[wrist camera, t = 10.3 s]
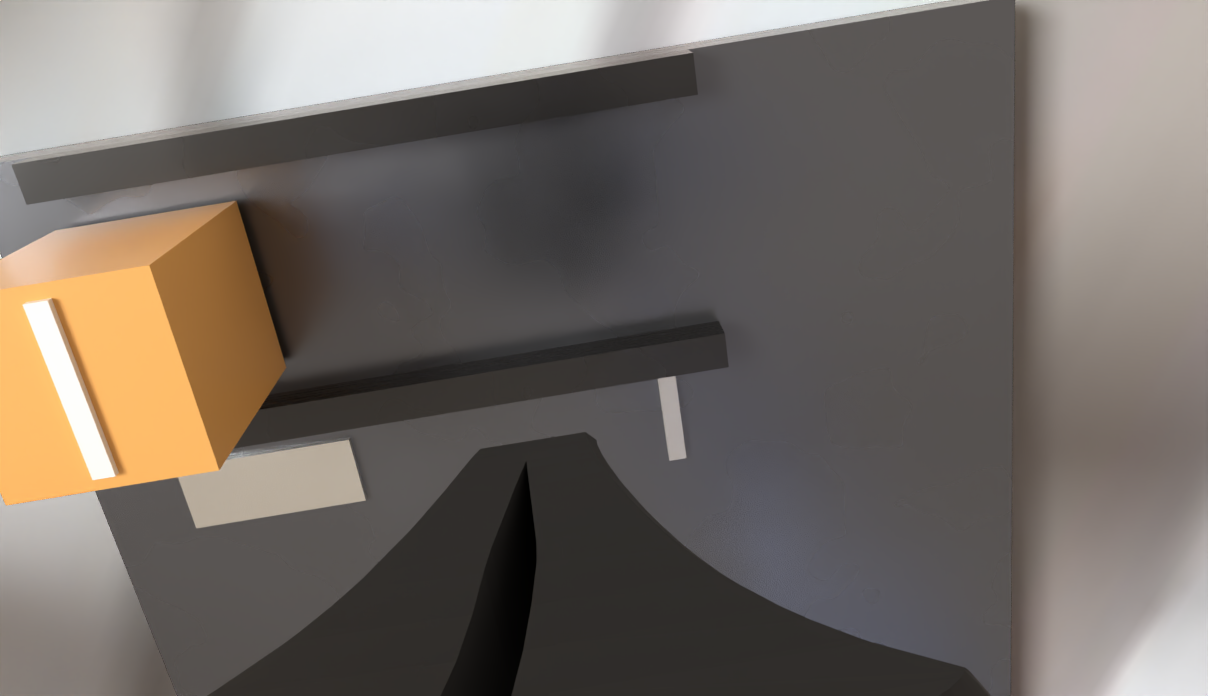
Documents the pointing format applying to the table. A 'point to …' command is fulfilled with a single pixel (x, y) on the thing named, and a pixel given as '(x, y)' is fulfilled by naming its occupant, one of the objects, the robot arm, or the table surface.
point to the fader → (130, 352)
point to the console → (610, 322)
